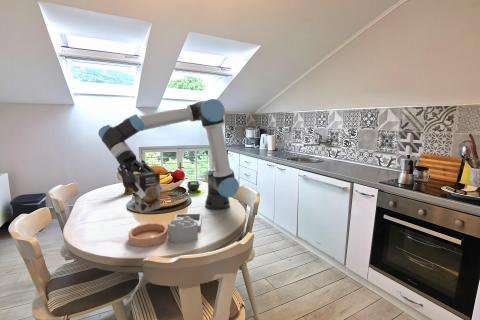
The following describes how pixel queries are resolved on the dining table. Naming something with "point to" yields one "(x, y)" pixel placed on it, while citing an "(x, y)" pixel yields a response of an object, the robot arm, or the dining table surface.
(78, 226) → the dining table surface
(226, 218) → the dining table surface
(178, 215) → the parts tray
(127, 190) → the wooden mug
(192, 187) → the toy cauldron
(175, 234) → the lumpy-topped squat cylinder
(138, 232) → the bowl
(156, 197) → the coffee box
